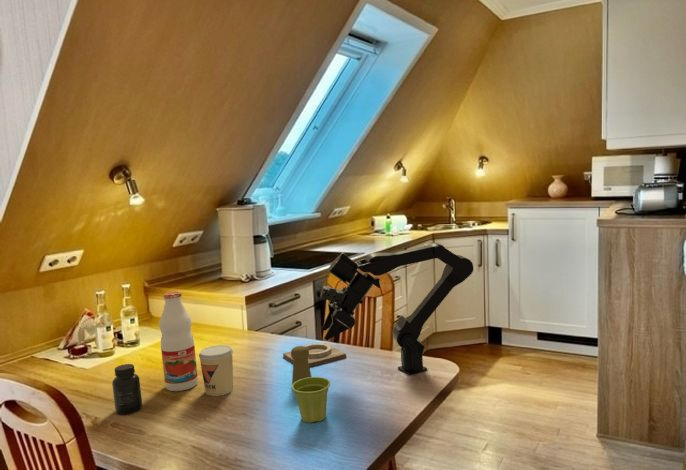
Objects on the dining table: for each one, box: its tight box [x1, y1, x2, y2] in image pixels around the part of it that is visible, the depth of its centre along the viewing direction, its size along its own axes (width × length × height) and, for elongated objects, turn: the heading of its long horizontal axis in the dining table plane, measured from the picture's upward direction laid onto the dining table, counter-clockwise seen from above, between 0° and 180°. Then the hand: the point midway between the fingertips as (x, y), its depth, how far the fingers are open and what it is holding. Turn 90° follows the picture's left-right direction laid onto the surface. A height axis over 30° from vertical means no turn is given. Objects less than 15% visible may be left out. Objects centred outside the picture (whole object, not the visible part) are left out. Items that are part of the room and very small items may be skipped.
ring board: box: [282, 342, 347, 368], centre depth 180 cm, size 14×16×2 cm
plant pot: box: [291, 376, 331, 424], centre depth 136 cm, size 9×9×9 cm
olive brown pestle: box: [290, 345, 313, 386], centre depth 157 cm, size 6×6×11 cm
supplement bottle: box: [111, 363, 143, 416], centre depth 147 cm, size 7×7×12 cm
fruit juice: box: [158, 290, 199, 392], centre depth 161 cm, size 9×9×28 cm
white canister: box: [198, 344, 234, 397], centre depth 157 cm, size 9×9×12 cm
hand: (324, 334), depth 159 cm, fingers open, 9 cm apart
